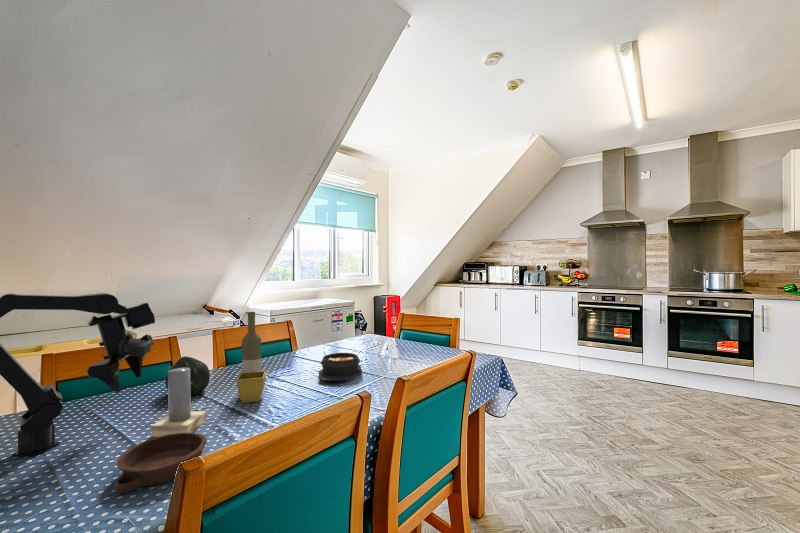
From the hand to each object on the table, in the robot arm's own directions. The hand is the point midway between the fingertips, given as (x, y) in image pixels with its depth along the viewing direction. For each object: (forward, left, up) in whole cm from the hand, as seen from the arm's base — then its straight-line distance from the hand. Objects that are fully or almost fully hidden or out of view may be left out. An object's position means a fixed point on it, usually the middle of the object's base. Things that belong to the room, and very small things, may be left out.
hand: (129, 384), depth 108 cm
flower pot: (+20, -28, -13) cm, 37 cm away
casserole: (+48, -55, -13) cm, 74 cm away
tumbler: (-2, -16, -9) cm, 19 cm away
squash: (+28, -1, -13) cm, 31 cm away
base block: (-2, -16, -12) cm, 21 cm away
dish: (-23, -25, -13) cm, 37 cm away
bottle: (+30, -24, -13) cm, 41 cm away
